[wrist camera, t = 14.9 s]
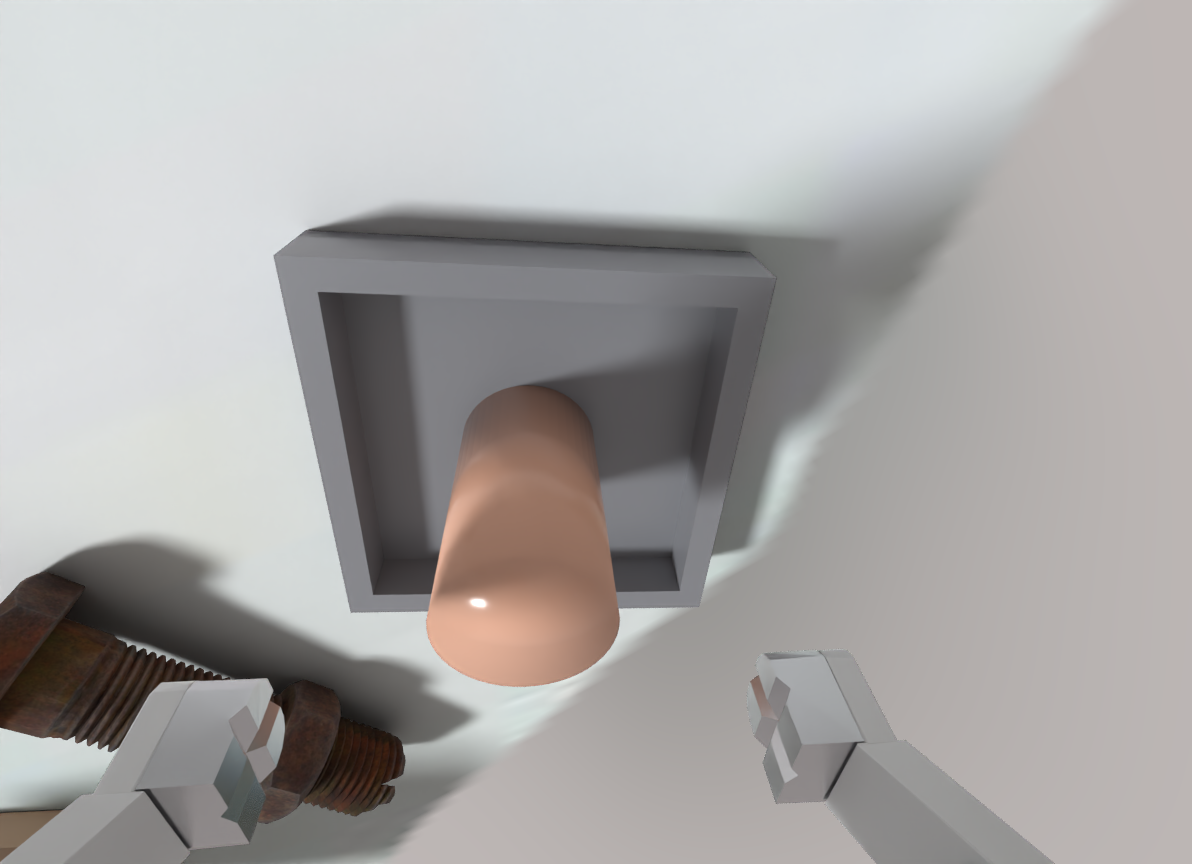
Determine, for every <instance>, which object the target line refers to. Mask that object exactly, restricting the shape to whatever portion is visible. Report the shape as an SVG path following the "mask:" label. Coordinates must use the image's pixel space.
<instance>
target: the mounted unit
mask: <svg viewBox="0 0 1192 864" xmlns="http://www.w3.org/2000/svg"><path fill="white" fill-rule="evenodd" d="M61 811H62V810H54V811H33V812H12V813H0V862H1V861H2V860H3V859H4V858H5V857H7V856H8V855H9V854H10V853H12V852H13V851H14V850H15V849H16V848H18V847H19V846H20V845H21V844H22V843H24V842H25V841H26V840H27V839H29V838H30V837H31V836H32V835H33V834H35V833H36V832H37V831H38V830H39V829H41V828H42V827H43V826H44V825H46V824H47V823H48V822H49V821H50V820H52V819H53V818H54V817H55V816H56V815H58V814H59V813H60V812H61Z"/></svg>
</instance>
